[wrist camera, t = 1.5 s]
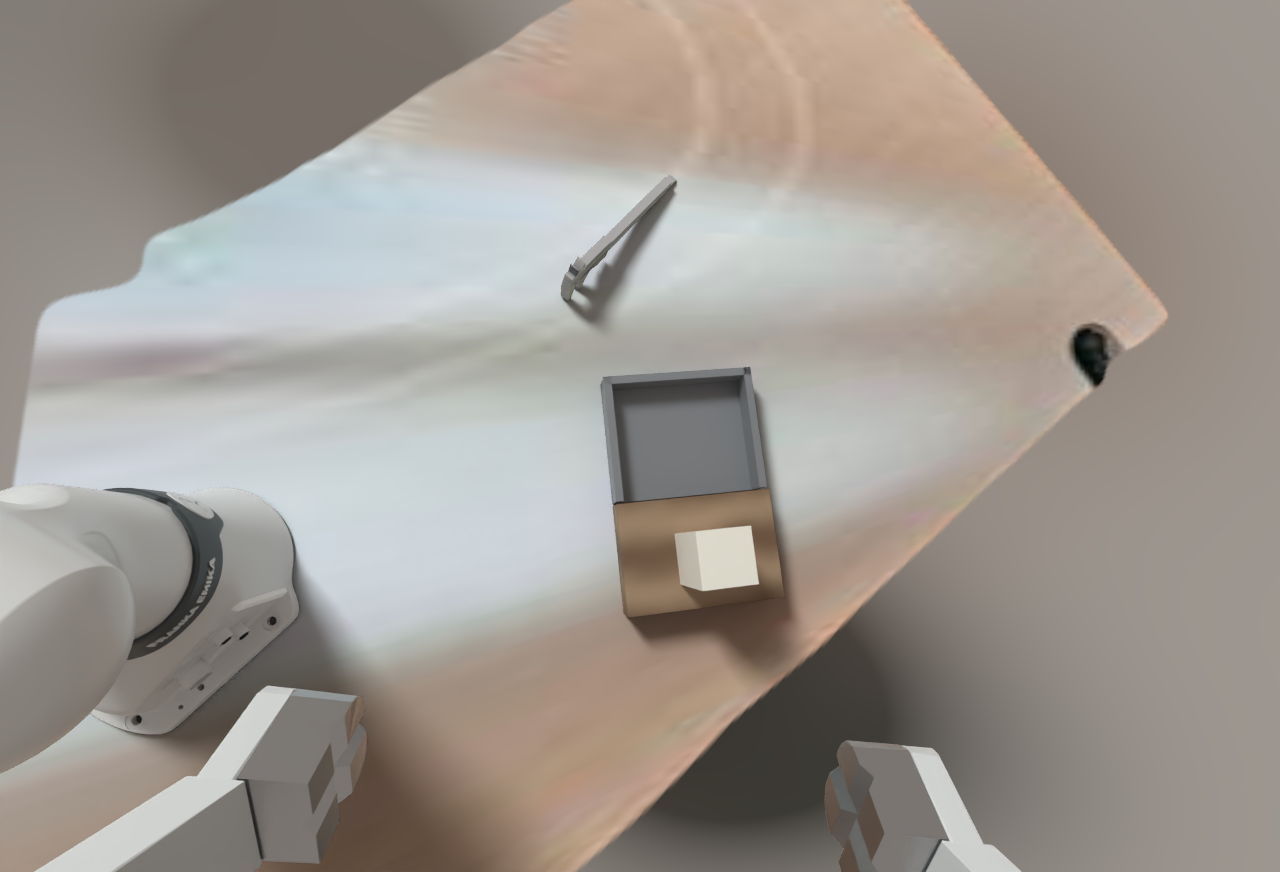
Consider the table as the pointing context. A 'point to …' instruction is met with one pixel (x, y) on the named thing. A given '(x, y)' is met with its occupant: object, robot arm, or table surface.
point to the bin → (681, 434)
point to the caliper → (610, 240)
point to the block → (716, 558)
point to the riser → (654, 555)
